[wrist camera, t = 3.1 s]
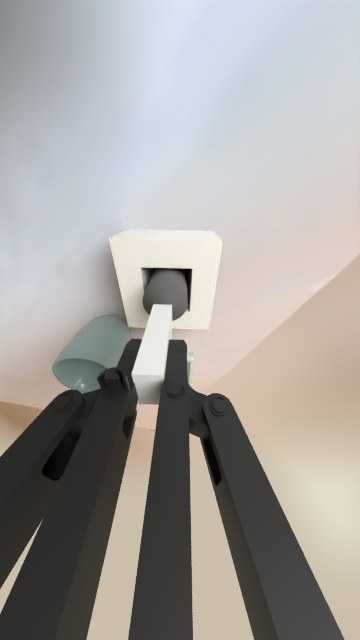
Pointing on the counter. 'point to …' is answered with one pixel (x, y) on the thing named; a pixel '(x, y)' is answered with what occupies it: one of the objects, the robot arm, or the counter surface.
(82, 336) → the cup
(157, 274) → the grey oval solid
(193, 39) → the counter surface
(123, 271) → the housing
